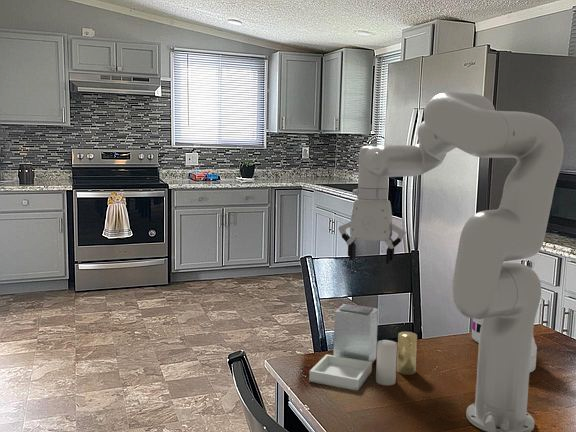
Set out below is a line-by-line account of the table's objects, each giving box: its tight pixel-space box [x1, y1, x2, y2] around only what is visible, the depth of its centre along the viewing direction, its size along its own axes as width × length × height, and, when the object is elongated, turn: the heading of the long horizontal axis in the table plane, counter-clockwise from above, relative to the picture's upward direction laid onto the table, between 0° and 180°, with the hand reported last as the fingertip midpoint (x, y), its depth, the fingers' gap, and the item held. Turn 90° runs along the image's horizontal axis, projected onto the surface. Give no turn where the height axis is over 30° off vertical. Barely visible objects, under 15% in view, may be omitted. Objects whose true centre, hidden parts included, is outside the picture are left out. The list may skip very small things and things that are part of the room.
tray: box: [308, 353, 373, 392], centre depth 133 cm, size 11×11×2 cm
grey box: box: [333, 303, 379, 364], centre depth 143 cm, size 7×9×13 cm
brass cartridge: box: [396, 331, 418, 376], centre depth 137 cm, size 4×4×9 cm
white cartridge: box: [375, 339, 398, 386], centre depth 131 cm, size 4×4×9 cm
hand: (370, 261), depth 148 cm, fingers open, 9 cm apart
